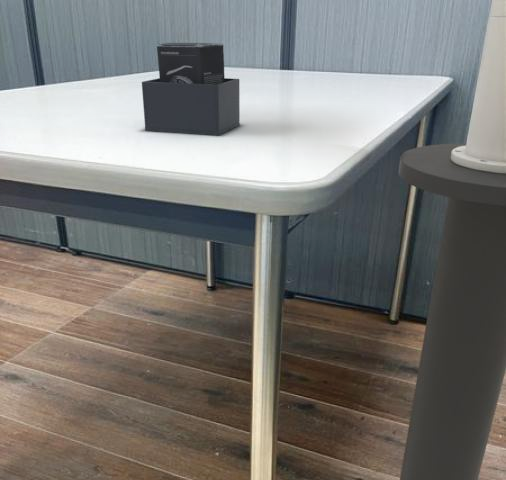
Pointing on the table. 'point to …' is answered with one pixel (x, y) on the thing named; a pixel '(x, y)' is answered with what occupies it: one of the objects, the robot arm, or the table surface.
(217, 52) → the box
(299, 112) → the table surface
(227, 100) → the box
